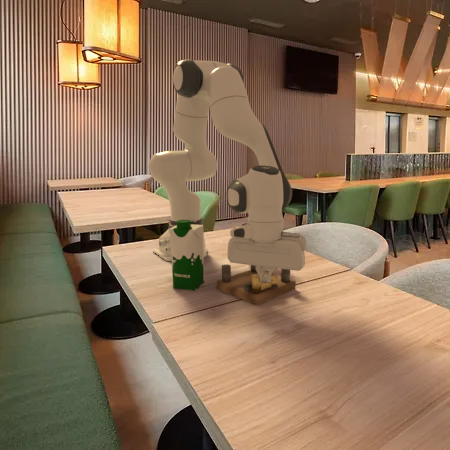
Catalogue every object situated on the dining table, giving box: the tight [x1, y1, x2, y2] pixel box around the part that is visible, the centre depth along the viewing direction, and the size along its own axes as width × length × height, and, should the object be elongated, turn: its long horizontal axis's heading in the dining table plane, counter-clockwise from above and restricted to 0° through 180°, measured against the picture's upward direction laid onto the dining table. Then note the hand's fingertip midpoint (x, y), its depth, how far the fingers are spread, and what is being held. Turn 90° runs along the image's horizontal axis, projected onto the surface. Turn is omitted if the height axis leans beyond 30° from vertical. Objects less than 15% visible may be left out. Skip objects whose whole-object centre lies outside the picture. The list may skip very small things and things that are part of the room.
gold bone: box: [251, 274, 277, 292], centre depth 104 cm, size 9×3×4 cm, turn 131°
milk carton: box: [168, 220, 205, 291], centre depth 113 cm, size 9×9×20 cm
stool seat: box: [216, 263, 296, 306], centre depth 110 cm, size 16×16×7 cm
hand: (265, 282), depth 101 cm, fingers closed
